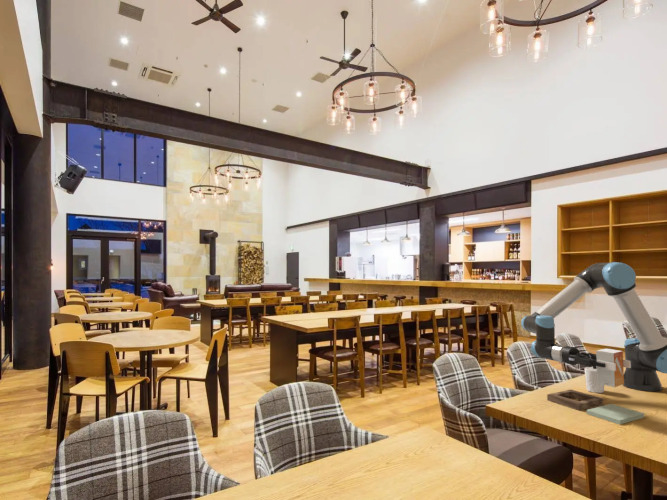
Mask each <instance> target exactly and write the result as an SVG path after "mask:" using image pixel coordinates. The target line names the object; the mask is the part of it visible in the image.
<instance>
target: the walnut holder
mask: <svg viewBox="0 0 667 500" xmlns="http://www.w3.org/2000/svg"><path fill="white" fill-rule="evenodd" d="M546 395H547V396H546V397H547V398H546V400H547V401H549V402H551V403H555V404H558V405H560V406H564V407H567V408H570V409H573V410H575V411H578V412H579V411H583V410H584V411H585V410H588V409H592V408H596V407H600V406H604V397H599V396H596V395H592V394H589V393H585V392H581V391H578V390H574V389H567V390H562V391H558V392H553V393H552V392H551V393H548V394H546ZM571 398H573V399H571ZM574 399H576V400H574ZM578 400H579V401H578Z"/></svg>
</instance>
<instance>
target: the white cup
mask: <svg viewBox="0 0 667 500" xmlns="http://www.w3.org/2000/svg"><path fill="white" fill-rule="evenodd" d="M584 379H585V384H586V385H585V386H586V387H585V388H586V391H588V392H590V393H596V394H602V393H603V394H604V392H605V385H601V384H597V367H596V369H593V366H592V367H588V366H585V367H584Z"/></svg>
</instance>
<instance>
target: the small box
mask: <svg viewBox="0 0 667 500" xmlns="http://www.w3.org/2000/svg"><path fill="white" fill-rule="evenodd" d="M595 352H596V353H595V354H596V358H597V360H600V361H605V362H611V363H616V371H613V370H608V369H603V368H599V367H597V366H596V368H597V384H601V385H604V386H607V387H611V388H616V387H619V386H624V385H623V384H624V372H625V370H624V367H623V360H624V351H623V350H617V349H612V348H606V347H605V348H602V349H598V350H595Z"/></svg>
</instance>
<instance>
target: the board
mask: <svg viewBox="0 0 667 500" xmlns="http://www.w3.org/2000/svg"><path fill="white" fill-rule="evenodd" d="M585 410H586V414H587V415H589V416H592V417H595V418H598V419H600V420H601V419H602V420H604V421H606V422H607V421H608V422H611V423H613V424H616V425H624V424H626V423H630V422H633V421H637V420H640V419H643V418H645V413H644V412H641V411H637V410H633V409H631V408H627V407H623V406H620V405H617V404H613V403H608V404H605V405H600V406H596V407H592V408H588V409H585Z"/></svg>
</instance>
